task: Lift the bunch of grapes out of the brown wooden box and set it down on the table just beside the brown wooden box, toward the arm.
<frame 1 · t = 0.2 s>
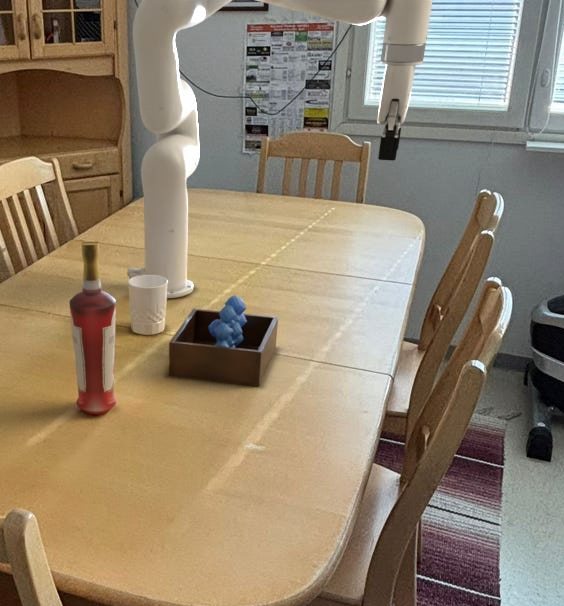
hand: (388, 154, 165), 31 cm above the table, tool pointing down, fingers open, 9 cm apart
brown wooden box: (223, 362, 161), on the table
white cup: (147, 330, 175), on the table
grapes: (223, 360, 160), resting on brown wooden box
liquor: (96, 409, 145), on the table
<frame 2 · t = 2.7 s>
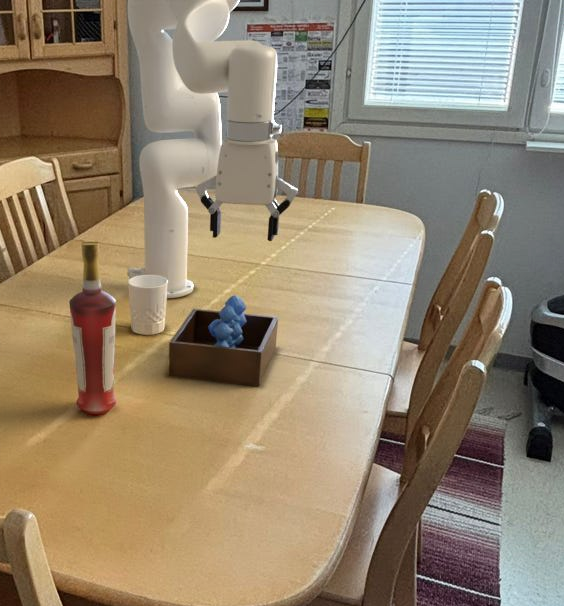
hand: (243, 237, 149), 23 cm above the table, tool pointing down, fingers open, 9 cm apart
nothing on the table moved.
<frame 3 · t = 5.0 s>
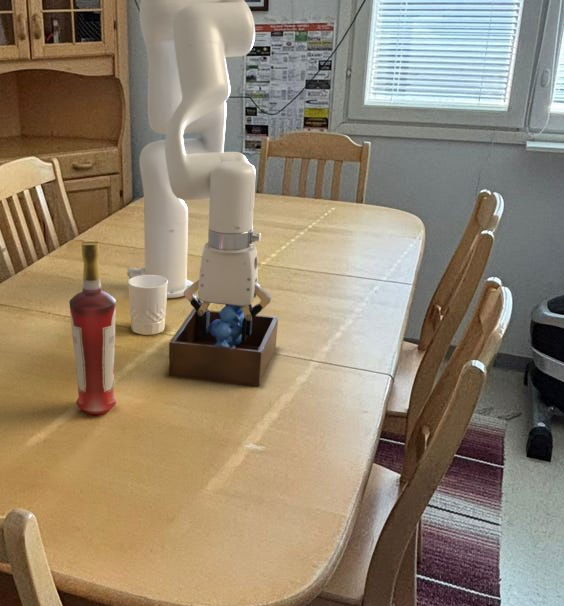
hand: (224, 335, 158), 5 cm above the table, tool pointing down, fingers closed on grapes, 6 cm apart
grapes: (223, 360, 160), resting on brown wooden box, touching gripper
everything else where it was.
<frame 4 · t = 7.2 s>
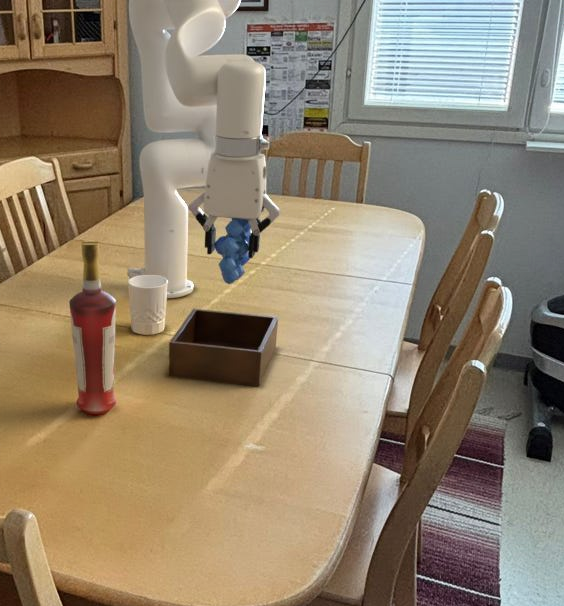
hand: (231, 253, 151), 20 cm above the table, tool pointing down, fingers closed on grapes, 6 cm apart
grapes: (229, 280, 154), point 15 cm above the table, touching gripper
everything else where it was.
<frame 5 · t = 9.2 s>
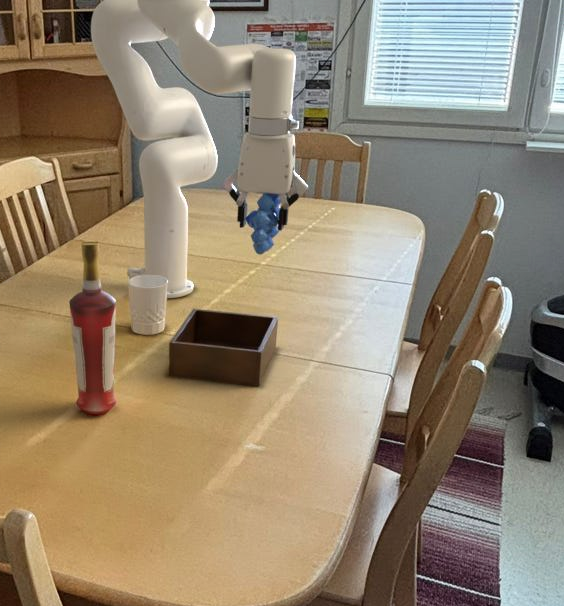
hand: (261, 226, 164), 20 cm above the table, tool pointing down, fingers closed on grapes, 6 cm apart
grapes: (260, 252, 167), point 15 cm above the table, touching gripper
everything else where it was.
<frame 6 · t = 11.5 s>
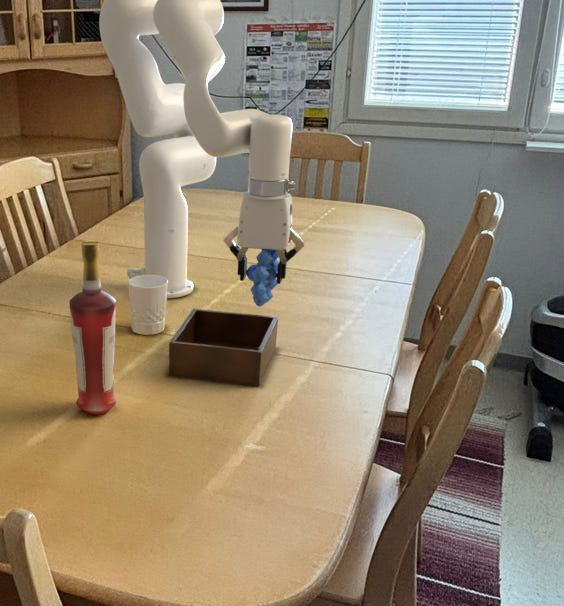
hand: (261, 279, 171), 9 cm above the table, tool pointing down, fingers closed on grapes, 6 cm apart
grapes: (259, 303, 174), point 4 cm above the table, touching gripper
everything else where it was.
when the fingers open (5 cm above the table, at t = 13.2 s): grapes stays where it is, on the table.
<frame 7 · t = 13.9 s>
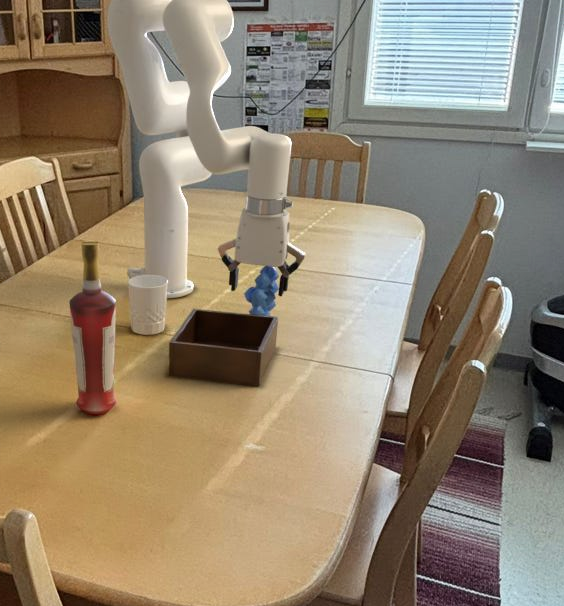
hand: (257, 291, 173), 7 cm above the table, tool pointing down, fingers open, 9 cm apart
grapes: (257, 324, 177), on the table
everything else where it was.
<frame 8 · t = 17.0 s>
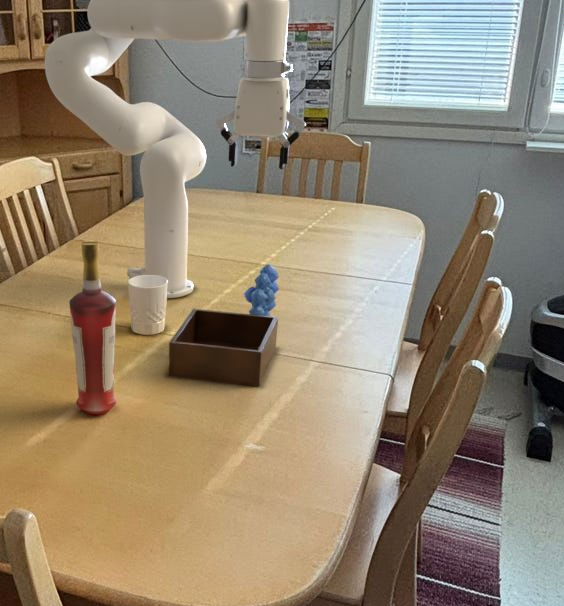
hand: (257, 166, 170), 28 cm above the table, tool pointing down, fingers open, 9 cm apart
nothing on the table moved.
at the end: grapes inside the target area (0.1 cm from its centre), on the table; grapes touching table; grapes tilted 0° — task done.
